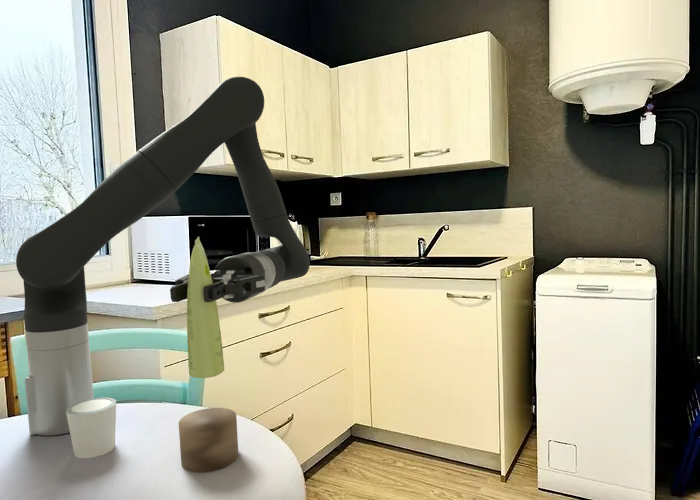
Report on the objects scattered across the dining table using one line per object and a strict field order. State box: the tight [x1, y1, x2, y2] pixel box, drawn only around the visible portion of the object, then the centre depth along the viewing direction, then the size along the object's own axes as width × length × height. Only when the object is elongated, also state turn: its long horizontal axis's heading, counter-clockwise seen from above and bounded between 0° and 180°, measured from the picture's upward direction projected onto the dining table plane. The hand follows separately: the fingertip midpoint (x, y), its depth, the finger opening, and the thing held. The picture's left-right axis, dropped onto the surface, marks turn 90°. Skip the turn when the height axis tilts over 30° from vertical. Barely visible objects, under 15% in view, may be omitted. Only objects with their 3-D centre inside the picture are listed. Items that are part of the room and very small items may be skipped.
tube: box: [186, 236, 225, 379], centre depth 72 cm, size 6×5×20 cm
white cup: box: [66, 397, 117, 459], centre depth 78 cm, size 7×7×7 cm
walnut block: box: [178, 407, 239, 474], centre depth 74 cm, size 8×8×6 cm
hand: (189, 294), depth 69 cm, fingers closed on tube, 4 cm apart
